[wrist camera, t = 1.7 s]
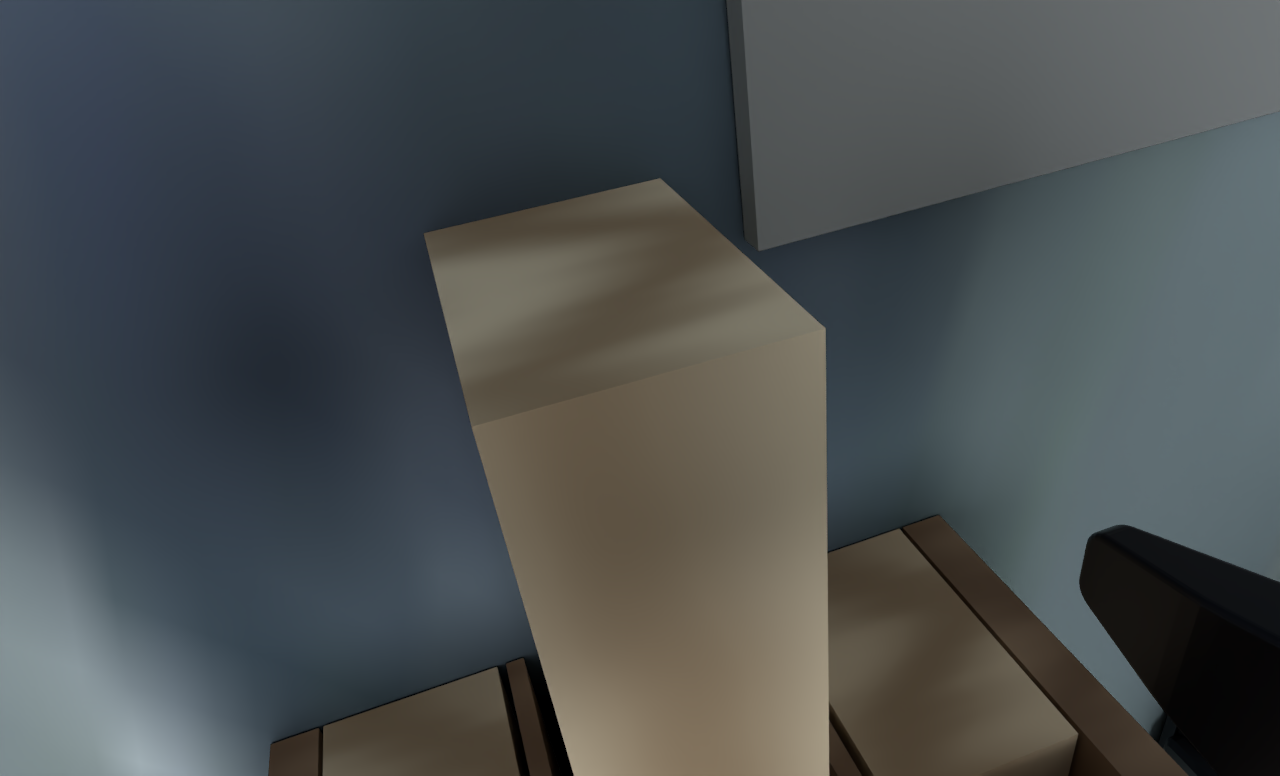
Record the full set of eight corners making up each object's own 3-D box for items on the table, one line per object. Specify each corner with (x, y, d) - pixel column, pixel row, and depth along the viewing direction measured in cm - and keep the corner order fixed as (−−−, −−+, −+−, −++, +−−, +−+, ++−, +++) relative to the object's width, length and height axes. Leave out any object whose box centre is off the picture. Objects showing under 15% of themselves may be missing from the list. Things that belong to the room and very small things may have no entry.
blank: (657, 175, 14) (825, 328, 9) (719, 695, 22) (830, 930, 17) (422, 229, 14) (472, 427, 9) (571, 748, 21) (643, 1010, 16)
